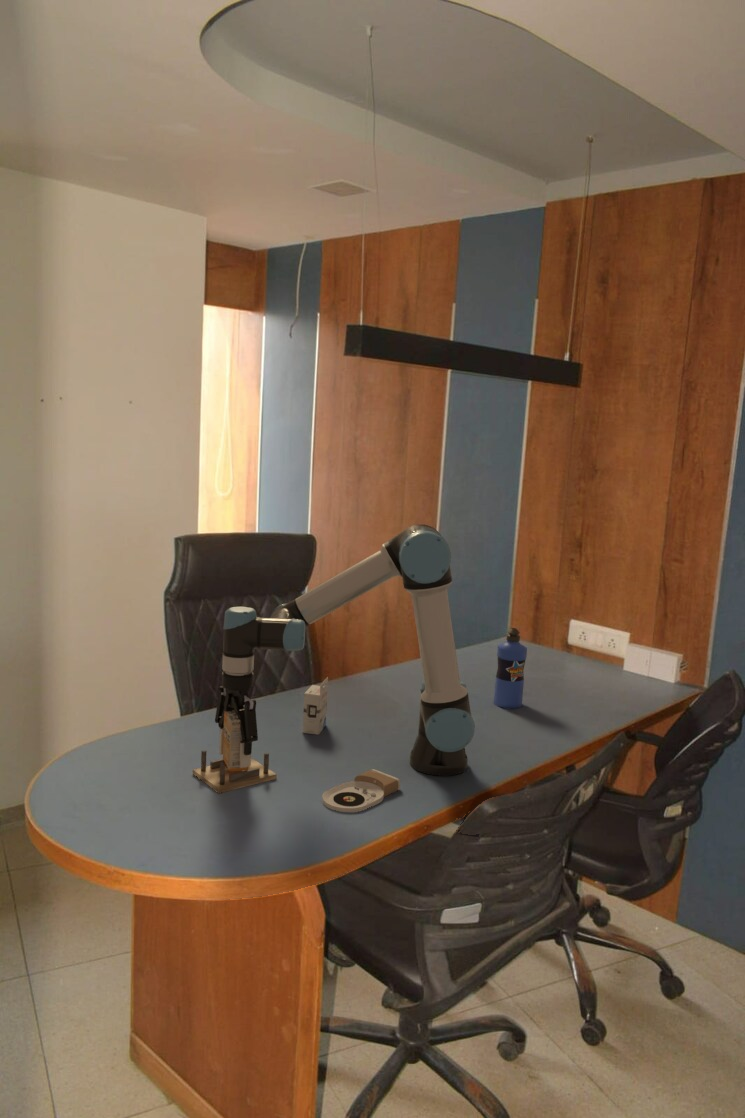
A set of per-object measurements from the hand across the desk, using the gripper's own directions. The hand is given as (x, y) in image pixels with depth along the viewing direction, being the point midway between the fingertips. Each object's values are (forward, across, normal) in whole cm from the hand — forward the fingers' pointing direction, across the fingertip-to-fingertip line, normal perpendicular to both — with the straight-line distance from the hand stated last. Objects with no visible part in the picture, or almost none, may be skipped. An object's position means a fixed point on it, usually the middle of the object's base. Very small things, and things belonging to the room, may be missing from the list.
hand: (234, 759), depth 218 cm
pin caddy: (+4, 0, 0) cm, 4 cm away
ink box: (+5, +17, -36) cm, 40 cm away
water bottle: (+4, +4, -103) cm, 103 cm away
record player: (+5, -25, -19) cm, 32 cm away
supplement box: (+2, 0, 0) cm, 2 cm away
